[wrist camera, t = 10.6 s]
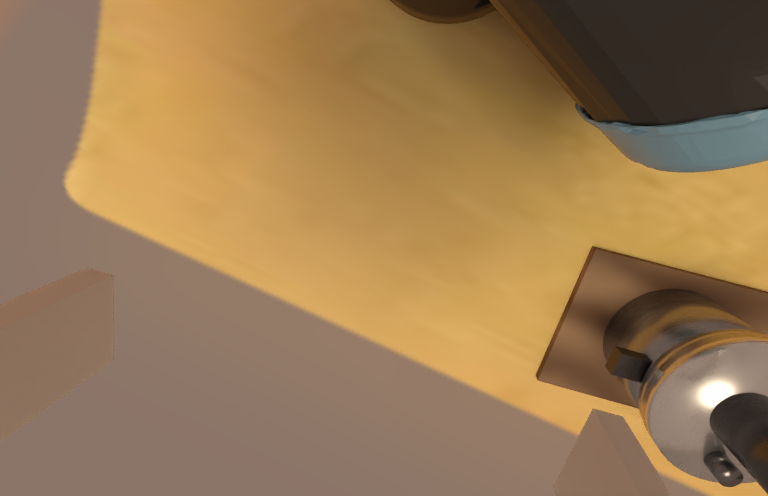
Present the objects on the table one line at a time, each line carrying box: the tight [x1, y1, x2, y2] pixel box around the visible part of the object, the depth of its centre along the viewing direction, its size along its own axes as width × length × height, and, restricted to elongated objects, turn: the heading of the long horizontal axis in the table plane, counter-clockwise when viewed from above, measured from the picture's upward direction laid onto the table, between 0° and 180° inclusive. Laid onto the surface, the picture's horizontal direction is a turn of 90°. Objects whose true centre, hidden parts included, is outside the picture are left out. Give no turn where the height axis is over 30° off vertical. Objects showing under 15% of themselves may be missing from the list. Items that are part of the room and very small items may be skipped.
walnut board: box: [536, 247, 768, 408], centre depth 39 cm, size 15×19×1 cm
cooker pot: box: [603, 288, 767, 419], centre depth 34 cm, size 16×12×9 cm
